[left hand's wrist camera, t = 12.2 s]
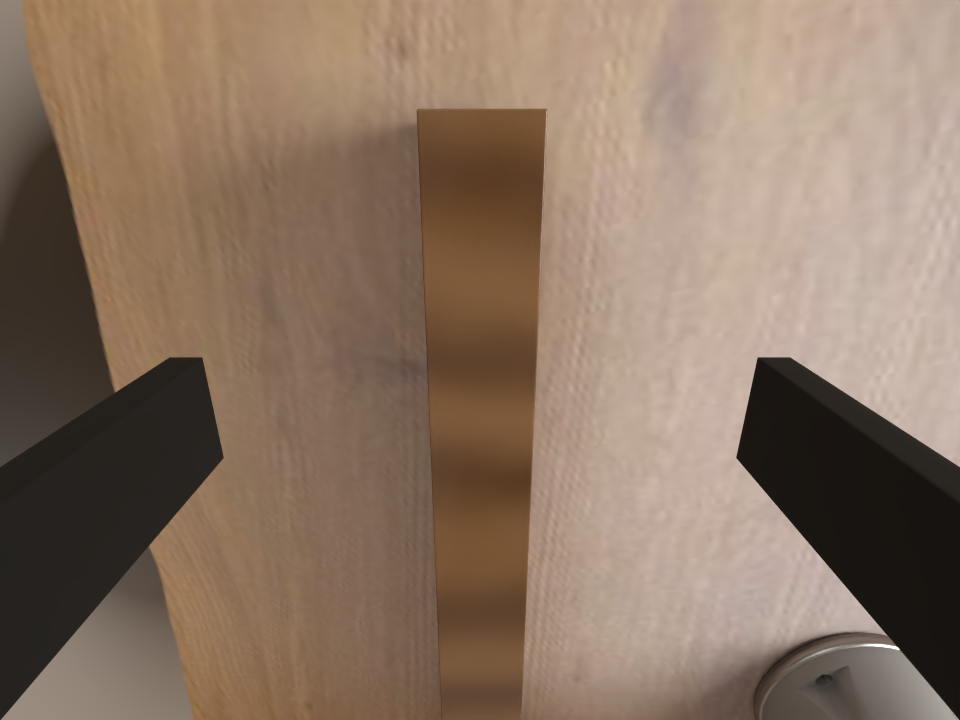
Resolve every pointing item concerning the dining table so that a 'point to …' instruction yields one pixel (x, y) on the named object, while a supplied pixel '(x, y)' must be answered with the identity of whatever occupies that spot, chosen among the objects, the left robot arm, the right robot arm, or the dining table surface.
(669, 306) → the dining table surface
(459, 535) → the beam
